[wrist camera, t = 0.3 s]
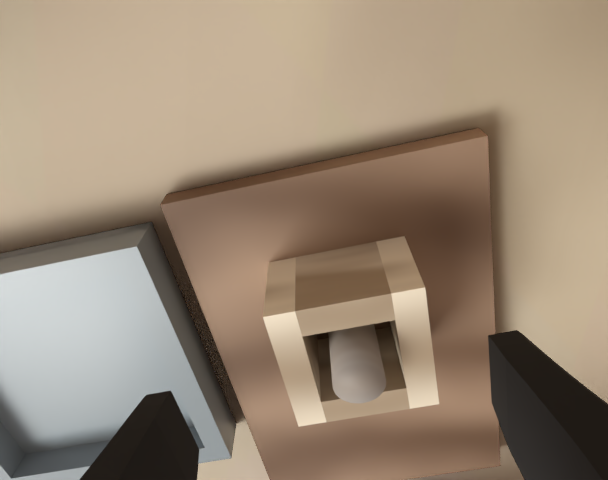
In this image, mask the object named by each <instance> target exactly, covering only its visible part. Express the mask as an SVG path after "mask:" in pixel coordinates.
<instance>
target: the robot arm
mask: <svg viewBox="0 0 608 480" xmlns="http://www.w3.org/2000/svg"><path fill="white" fill-rule="evenodd" d="M488 345H489V363H490V382H491V400H492V405H493V408H494V410H495V413H496V416H497V419H498V421H499V424H500V427H501V429H502V432H503V434H504V437H505V440H506V442H507V445H508V447H509V450H510V452H511V454H512V456H513V458H514V460H515V462H516V464H517V466H518V468H519V470H520V472H521V473H522V475H523V477H524V479H525V480H608V404H607V403H606V402H605V401H603V400H602V399H601V398H599V397H598V396H597V395H595V394H594V393H593V392H592V391H590V390H589V389H588V388H586V387H585V386H584V385H583V384H581V383H580V382H579V381H577V380H576V379H575V378H574V377H572V376H571V375H570V374H569V373H568V372H566V371H565V370H564V369H563V368H562V367H560V366H559V365H558V364H557V363H555V362H554V361H553V360H552V359H551V358H550V357H548V356H547V355H546V354H545V353H544V352H542V351H541V350H540V349H539V348H538V347H537V346H536V345H534V344H533V343H532V342H531V341H530V340H529V339H527V338H526V337H525V336H524V335H523V334H522V333H520V332H519V331H517V330H516V331H510V332H504V333H499V334H493V335H488ZM198 460H199V448H198V446H197V444H196V441H195V439H194V437H193V435H192V433H191V431H190V429H189V427H188V425H187V423H186V421H185V419H184V417H183V414H182V412H181V410H180V408H179V406H178V404H177V402H176V400H175V398H174V396H173V394H172V392H171V391H165V392H159V393H154V394H148V395H146V396H145V397H144V398H143V399H142V400H141V402H140V403H139V404H138V405H137V407H136V408H135V409H134V410H133V412H132V413H131V414H130V416H129V417H128V418H127V419H126V421H125V422H124V423H123V425H122V426H121V427H120V429H119V430H118V431H117V433H116V434H115V435H114V436H113V438H112V439H111V440H110V442H109V443H108V444H107V445H106V447H105V448H104V449H103V451H102V452H101V453H100V454H99V456H98V457H97V458H96V459H95V461H94V462H93V463H92V465H91V466H90V467H89V468H88V470H87V471H86V472H85V473H84V475H83V476H82V477H81V478H80V480H197V472H198Z"/></svg>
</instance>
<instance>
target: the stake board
mask: <svg viewBox="0 0 608 480" xmlns="http://www.w3.org/2000/svg"><path fill="white" fill-rule="evenodd" d="M160 206H161V209H162V211H163V214H164V216H165V219H166V221H167V224H168V226H169V229H170V231H171V234H172V236H173V239H174V241H175V244H176V246H177V249H178V251H179V254H180V256H181V259H182V261H183V264H184V266H185V269H186V271H187V274H188V276H189V279H190V281H191V284H192V286H193V289H194V291H195V294H196V296H197V299H198V301H199V304H200V306H201V309H202V311H203V314H204V316H205V319H206V321H207V324H208V326H209V329H210V331H211V334H212V336H213V339H214V341H215V344H216V346H217V349H218V351H219V354H220V356H221V359H222V361H223V364H224V366H225V369H226V371H227V374H228V376H229V379H230V381H231V384H232V386H233V389H234V391H235V394H236V396H237V399H238V401H239V404H240V406H241V409H242V411H243V414H244V416H245V419H246V421H247V424H248V426H249V429H250V431H251V434H252V436H253V439H254V441H255V444H256V446H257V449H258V451H259V454H260V456H261V459H262V461H263V464H264V466H265V469H266V471H267V474H268V476H269V479H270V480H406V479H413V478H420V477H427V476H434V475H441V474H447V473H454V472H461V471H468V470H475V469H482V468H488V467H495V466H500V442H499V421H498V419H497V416H496V413H495V410H494V408H493V405H492V400H491V382H490V363H489V345H488V335H493V334H495V310H494V283H493V257H492V230H491V204H490V178H489V151H488V135H486V134H485V133H484V132H483V131H482V130H480V129H479V128H476V129H471V130H466V131H461V132H457V133H452V134H447V135H443V136H438V137H433V138H429V139H424V140H419V141H415V142H410V143H405V144H401V145H396V146H391V147H386V148H382V149H377V150H372V151H368V152H363V153H358V154H354V155H349V156H344V157H340V158H335V159H330V160H326V161H321V162H316V163H312V164H307V165H302V166H297V167H293V168H288V169H283V170H279V171H274V172H269V173H265V174H260V175H255V176H251V177H246V178H241V179H237V180H232V181H227V182H222V183H218V184H213V185H208V186H204V187H199V188H194V189H190V190H185V191H180V192H176V193H171V194H167V195H166V196H165V198H164V200H163V201H162V203H161V204H160ZM402 236H405V239H406V241H407V244H408V246H409V249H410V251H411V254H412V256H413V259H414V261H415V263H416V266H417V268H418V271H419V273H420V276H421V278H422V281H423V283H424V286H425V290H426V298H427V306H428V315H429V323H430V331H431V340H432V348H433V356H434V365H435V373H436V381H437V390H438V398H439V404H437V405H431V406H425V407H418V408H412V409H406V410H400V411H393V412H387V413H381V414H375V415H368V416H362V417H356V418H350V419H343V420H337V421H331V422H325V423H318V424H312V425H306V426H300V427H299V426H298V423H297V420H296V417H295V414H294V411H293V408H292V405H291V402H290V399H289V396H288V393H287V390H286V387H285V384H284V380H283V377H282V374H281V371H280V368H279V365H278V362H277V359H276V356H275V353H274V350H273V347H272V344H271V341H270V338H269V335H268V332H267V329H266V326H265V323H264V319H263V310H264V301H265V292H266V282H267V273H268V264H269V262H274V261H279V260H284V259H289V258H294V257H299V256H305V255H310V254H315V253H320V252H325V251H330V250H335V249H341V248H346V247H351V246H356V245H361V244H366V243H371V242H376V241H382V240H387V239H392V238H397V237H402ZM388 327H391V326H390V321H387V322H382V323H376V324H370V325H365V326H359V327H354V328H348V329H342V330H337V331H331V332H326V333H320V334H316V335H317V339H318V340H320V339H326V338H329V349H330V361H331V373H332V385H333V390H334V392H335V394H336V395H337V396H338V397H339V398H340V399H342V400H344V401H346V402H350V403H366V402H369V401H372V400H374V399H376V398H377V397H379V396H380V395H381V394H382V393H383V391H384V389H385V387H386V378H385V373H384V368H383V364H382V359H381V354H380V350H379V345H378V340H377V336H376V331H375V330H377V329H383V328H388Z"/></svg>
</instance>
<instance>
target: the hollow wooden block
mask: <svg viewBox="0 0 608 480" xmlns="http://www.w3.org/2000/svg"><path fill="white" fill-rule="evenodd" d="M263 319H264V323H265V326H266V329H267V332H268V335H269V338H270V341H271V344H272V347H273V350H274V353H275V356H276V359H277V362H278V365H279V368H280V371H281V374H282V377H283V380H284V384H285V387H286V390H287V393H288V396H289V399H290V402H291V405H292V408H293V411H294V414H295V417H296V420H297V423H298V426H299V427H300V426H306V425H312V424H318V423H325V422H331V421H337V420H343V419H350V418H356V417H362V416H368V415H375V414H381V413H387V412H393V411H400V410H406V409H412V408H418V407H425V406H431V405H437V404H439V398H438V390H437V381H436V373H435V365H434V356H433V348H432V340H431V331H430V323H429V315H428V306H427V298H426V290H425V286H424V283H423V281H422V278H421V276H420V273H419V271H418V268H417V266H416V263H415V261H414V259H413V256H412V254H411V251H410V249H409V246H408V244H407V241H406V239H405V236H402V237H397V238H392V239H387V240H382V241H376V242H371V243H366V244H361V245H356V246H351V247H346V248H341V249H335V250H330V251H325V252H320V253H315V254H310V255H305V256H299V257H294V258H289V259H284V260H279V261H274V262H269V264H268V273H267V282H266V292H265V301H264V310H263ZM387 321H390V326H391V327H388V328H383V329H377V330H375V331H376V336H377V340H378V345H379V350H380V354H381V359H382V364H383V368H384V373H385V378H386V387H385V389H384V391H383V393H382V394H381V395H380V396H379V397H377V398H376V399H374V400H372V401H369V402H366V403H350V402H346V401H344V400H342V399H340V398H339V397H338V396H337V395H336V394H335V392H334V390H333V385H332V373H331V361H330V349H329V338H326V339H320V340H318V339H317V335H316V334H320V333H326V332H331V331H337V330H342V329H348V328H354V327H359V326H365V325H370V324H376V323H382V322H387Z"/></svg>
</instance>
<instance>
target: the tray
mask: <svg viewBox="0 0 608 480" xmlns="http://www.w3.org/2000/svg"><path fill="white" fill-rule="evenodd" d="M165 391H171V392H172V394H173V396H174V398H175V400H176V402H177V404H178V406H179V408H180V410H181V412H182V414H183V417H184V419H185V421H186V423H187V425H188V427H189V429H190V431H191V433H192V435H193V437H194V439H195V441H196V444H197V446H198V448H199V460H198V463H204V462H211V461H217V460H223V459H230V458H231V457H232V450H233V443H234V436H235V429H236V423H235V421H234V418H233V416H232V413H231V411H230V409H229V406H228V404H227V401H226V399H225V397H224V394H223V392H222V389H221V387H220V385H219V382H218V380H217V377H216V375H215V373H214V370H213V368H212V365H211V363H210V361H209V358H208V356H207V353H206V351H205V349H204V346H203V344H202V341H201V339H200V337H199V334H198V332H197V329H196V327H195V325H194V322H193V320H192V317H191V315H190V313H189V310H188V308H187V305H186V303H185V301H184V298H183V296H182V293H181V291H180V289H179V286H178V284H177V281H176V279H175V277H174V274H173V272H172V269H171V267H170V265H169V262H168V260H167V257H166V255H165V253H164V250H163V248H162V245H161V243H160V241H159V238H158V236H157V233H156V231H155V229H154V226H153V224H152V222H149V223H144V224H139V225H135V226H130V227H125V228H120V229H115V230H111V231H106V232H101V233H96V234H91V235H87V236H82V237H77V238H72V239H67V240H63V241H58V242H53V243H48V244H43V245H38V246H34V247H29V248H24V249H19V250H14V251H10V252H5V253H0V480H80V478H81V477H82V476H83V475H84V473H85V472H86V471H87V470H88V468H89V467H90V466H91V465H92V463H93V462H94V461H95V459H96V458H97V457H98V456H99V454H100V453H101V452H102V451H103V449H104V448H105V447H106V445H107V444H108V443H109V442H110V440H111V439H112V438H113V436H114V435H115V434H116V433H117V431H118V430H119V429H120V427H121V426H122V425H123V423H124V422H125V421H126V419H127V418H128V417H129V416H130V414H131V413H132V412H133V410H134V409H135V408H136V407H137V405H138V404H139V403H140V402H141V400H142V399H143V398H144V397H145V396H146V395H148V394H154V393H159V392H165Z"/></svg>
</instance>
